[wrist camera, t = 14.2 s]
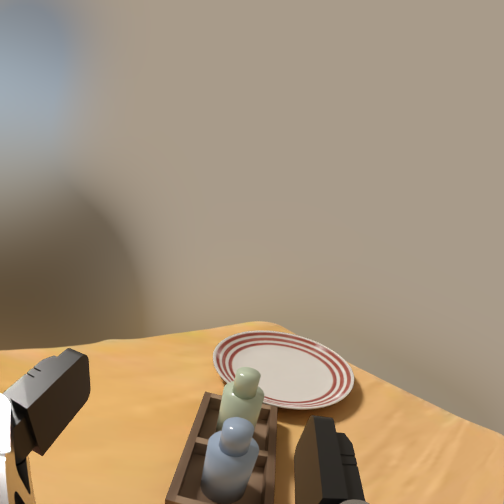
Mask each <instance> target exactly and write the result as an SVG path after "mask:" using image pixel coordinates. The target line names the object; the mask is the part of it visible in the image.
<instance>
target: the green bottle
mask: <svg viewBox="0 0 504 504" xmlns="http://www.w3.org/2000/svg"><path fill="white" fill-rule="evenodd" d="M260 377H261V374H260V373H259V371H257V370H256V369H253V368H250V367H241V368H239V369H237V371H236V376H235V380H234V381H232V382H229V383H227V384H226V385H225V387H224V390H223V395H222V400H221V405H220V410H219V416H218V421H217V426H216V431H215V433H216V432H219V431H222V427H223V423H224V421H225V420H226V419H228V418H232V417H240V418H244V419H246V420H248V421H250V422H251V423H252V424H253V426H254V431H255V427H256V424H257V421H258V417H259V414H260V410H261V407H262V403H263V400H264V392H263V390H262V389H261V388H260V387H258V385H259V381H260ZM253 434H254V433H253ZM252 437H253V436H252Z"/></svg>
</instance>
